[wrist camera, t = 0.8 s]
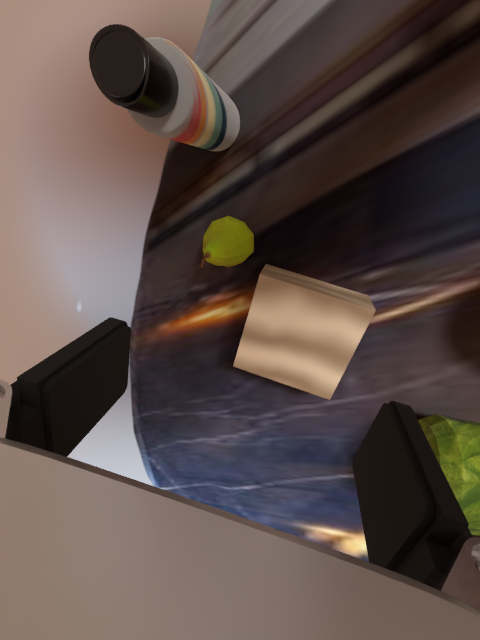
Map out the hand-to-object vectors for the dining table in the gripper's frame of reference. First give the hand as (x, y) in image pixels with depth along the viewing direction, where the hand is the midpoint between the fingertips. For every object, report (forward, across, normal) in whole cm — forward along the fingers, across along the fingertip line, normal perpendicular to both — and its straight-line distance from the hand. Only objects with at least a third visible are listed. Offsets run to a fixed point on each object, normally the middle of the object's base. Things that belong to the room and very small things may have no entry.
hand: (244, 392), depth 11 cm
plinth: (+31, -4, +10) cm, 33 cm away
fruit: (+31, +7, +1) cm, 32 cm away
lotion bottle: (+31, +12, -12) cm, 35 cm away
